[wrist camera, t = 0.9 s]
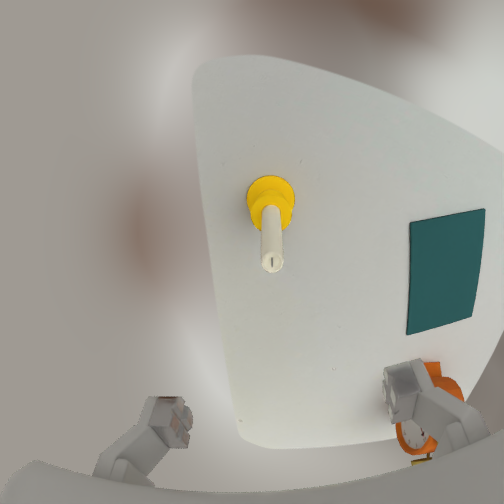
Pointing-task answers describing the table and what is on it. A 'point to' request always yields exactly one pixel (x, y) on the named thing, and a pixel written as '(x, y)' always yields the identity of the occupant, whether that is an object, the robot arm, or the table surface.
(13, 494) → the robot arm
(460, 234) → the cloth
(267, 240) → the candle
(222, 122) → the table surface
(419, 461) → the alarm clock
